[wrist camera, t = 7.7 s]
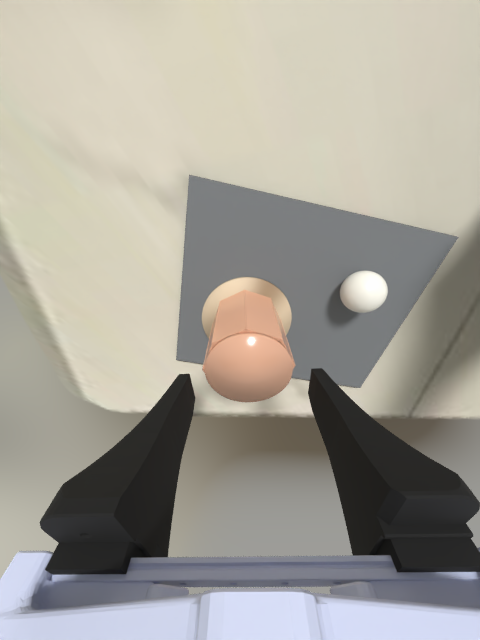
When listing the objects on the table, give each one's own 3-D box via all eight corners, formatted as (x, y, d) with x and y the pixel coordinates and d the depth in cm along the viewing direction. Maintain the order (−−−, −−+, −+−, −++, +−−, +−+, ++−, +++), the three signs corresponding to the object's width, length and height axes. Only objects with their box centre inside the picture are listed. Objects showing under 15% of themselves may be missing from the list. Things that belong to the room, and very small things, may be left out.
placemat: (453, 236, 17) (458, 236, 16) (358, 385, 25) (359, 387, 24) (190, 175, 15) (189, 174, 15) (177, 357, 23) (176, 359, 22)
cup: (288, 303, 19) (309, 350, 13) (264, 353, 22) (272, 409, 16) (225, 283, 18) (218, 323, 12) (207, 337, 21) (195, 391, 15)
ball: (380, 269, 18) (407, 283, 15) (362, 305, 19) (383, 323, 16) (343, 261, 17) (363, 274, 15) (327, 298, 19) (342, 316, 16)
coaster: (303, 286, 18) (304, 288, 18) (276, 359, 22) (277, 361, 22) (208, 268, 18) (207, 269, 17) (197, 347, 22) (197, 349, 21)
